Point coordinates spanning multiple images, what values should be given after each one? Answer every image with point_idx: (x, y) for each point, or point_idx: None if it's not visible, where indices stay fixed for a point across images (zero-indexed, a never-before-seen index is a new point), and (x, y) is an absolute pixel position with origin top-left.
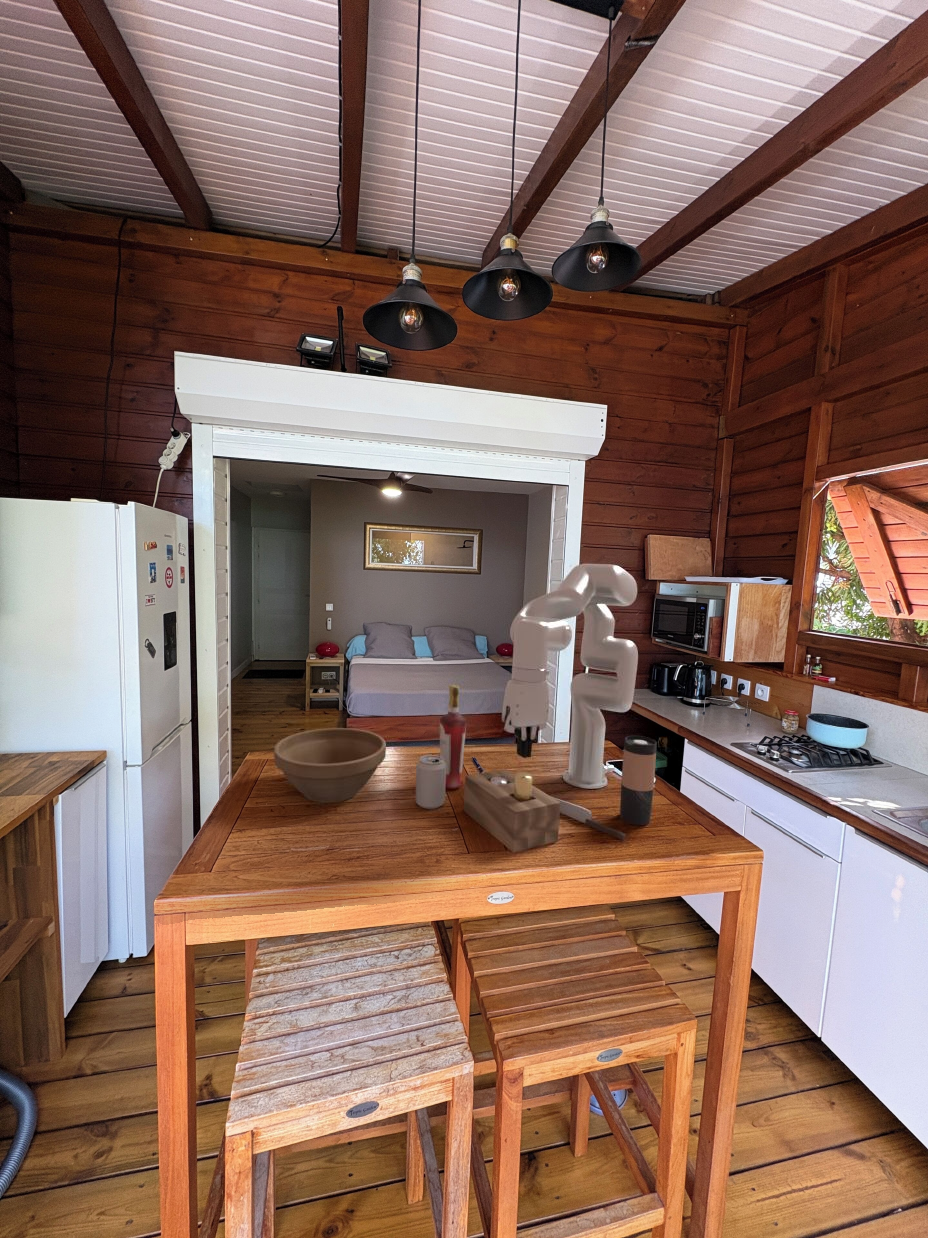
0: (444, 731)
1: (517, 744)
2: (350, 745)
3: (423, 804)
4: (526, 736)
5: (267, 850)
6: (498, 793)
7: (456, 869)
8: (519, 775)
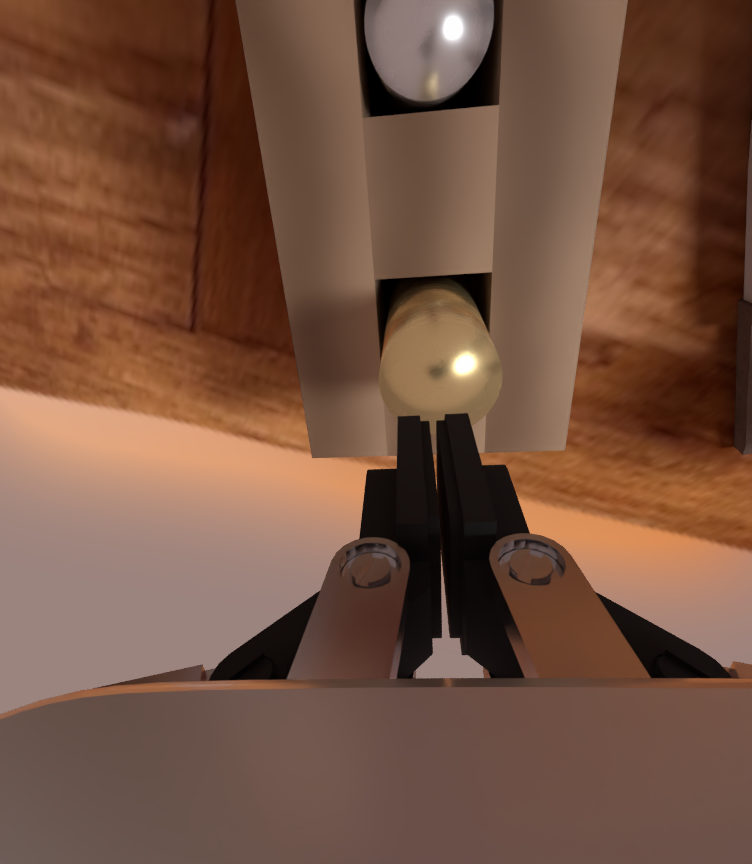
0: None
1: (363, 516)
2: None
3: None
4: (465, 625)
5: None
6: (324, 246)
7: (134, 397)
8: (409, 375)
